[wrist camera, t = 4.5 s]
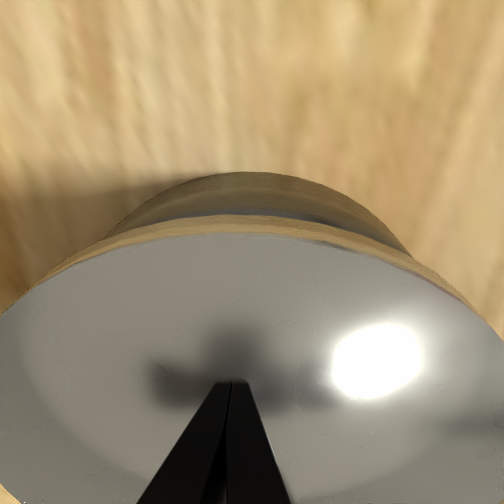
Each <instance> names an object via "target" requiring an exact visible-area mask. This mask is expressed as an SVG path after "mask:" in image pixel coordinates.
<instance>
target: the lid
mask: <svg viewBox="0 0 504 504" xmlns="http://www.w3.org/2000/svg"><path fill="white" fill-rule="evenodd" d="M218 381H230V382H232V383H233V382H234V381H247V382H248V383H249V384H250V387H251V390H252V393H253V396H254V398H255V401H256V404H257V407H258V410H259V413H260V415H261V418H262V421H263V424H264V427H265V430H266V432H267V435H268V438H269V441H270V444H271V446H272V449H273V452H274V455H275V458H276V461H277V463H278V466H279V469H280V472H281V475H282V478H283V480H284V483H285V486H286V489H287V492H288V495H289V497H290V500H291V503H292V504H499V503H500V502H501V501H502V500H503V499H504V342H503V341H502V340H501V338H500V337H499V336H498V335H497V333H496V332H495V331H494V330H493V329H492V327H491V326H490V325H489V324H488V323H487V322H486V321H485V319H484V318H483V317H482V316H481V315H480V314H479V313H478V311H477V310H476V309H475V308H474V307H473V306H472V305H471V303H470V302H469V301H468V300H467V299H466V298H465V297H464V296H463V295H462V294H461V293H460V292H459V291H457V290H456V289H455V288H454V287H453V286H452V285H450V284H449V283H448V282H447V281H446V280H445V279H443V278H442V277H441V276H440V275H439V274H438V273H436V272H434V271H433V270H431V269H429V268H428V267H426V266H424V265H423V264H421V263H420V262H418V261H416V260H415V259H413V258H411V257H410V256H408V255H407V254H405V253H403V252H401V251H398V250H396V249H394V248H391V247H389V246H387V245H385V244H382V243H380V242H378V241H375V240H373V239H371V238H368V237H366V236H364V235H360V234H356V233H353V232H349V231H346V230H342V229H339V228H335V227H332V226H328V225H325V224H321V223H316V222H309V221H303V220H296V219H289V218H283V217H276V216H260V215H213V216H203V217H192V218H182V219H175V220H170V221H166V222H161V223H157V224H152V225H148V226H144V227H139V228H135V229H132V230H129V231H126V232H124V233H121V234H118V235H116V236H113V237H110V238H108V239H105V240H102V241H100V242H97V243H95V244H93V245H91V246H89V247H87V248H86V249H84V250H82V251H80V252H78V253H77V254H75V255H73V256H71V257H69V258H68V259H66V260H64V261H62V262H61V263H60V264H59V265H57V266H56V267H55V268H54V269H52V270H51V271H50V272H49V273H47V274H46V275H45V276H44V277H42V278H41V279H40V280H39V281H37V282H36V283H35V284H34V285H33V286H32V287H31V288H30V289H29V290H27V291H26V292H25V293H24V294H23V295H22V296H21V297H20V298H19V299H18V300H17V301H16V302H15V303H13V304H12V305H11V306H10V307H9V308H8V309H7V310H6V311H5V312H4V313H3V314H2V315H1V316H0V483H1V484H2V485H3V487H4V488H5V489H6V490H7V491H8V492H9V493H10V494H11V495H13V496H14V497H15V498H16V499H17V500H18V501H19V502H20V503H21V504H136V503H137V501H138V500H139V498H140V497H141V495H142V494H143V492H144V491H145V489H146V488H147V486H148V485H149V483H150V481H151V480H152V478H153V477H154V475H155V474H156V472H157V471H158V469H159V468H160V466H161V465H162V463H163V462H164V460H165V459H166V457H167V455H168V454H169V452H170V451H171V449H172V448H173V446H174V445H175V443H176V442H177V440H178V439H179V437H180V436H181V434H182V433H183V431H184V429H185V428H186V426H187V425H188V423H189V422H190V420H191V419H192V417H193V416H194V414H195V413H196V411H197V410H198V408H199V407H200V405H201V404H202V402H203V400H204V399H205V397H206V396H207V394H208V393H209V391H210V390H211V388H212V387H213V385H214V384H215V383H216V382H218Z"/></svg>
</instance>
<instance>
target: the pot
mask: <svg viewBox="0 0 504 504" xmlns="http://www.w3.org/2000/svg"><path fill="white" fill-rule="evenodd" d="M213 215H260V216H276V217H283V218H289V219H296V220H303V221H309V222H316V223H321V224H325V225H328V226H332V227H335V228H339V229H342V230H346V231H349V232H353V233H356V234H360V235H364V236H366V237H368V238H371V239H373V240H375V241H378V242H380V243H382V244H385V245H387V246H389V247H391V248H394V249H396V250H398V251H401V252H403V253H405V254H407V255H408V256H410V257H411V258H413V257H412V256H411V255H410V253H409V252H408V251H407V250H406V249H405V248H404V246H403V245H402V244H401V243H400V242H399V240H398V239H397V238H396V237H395V236H394V235H393V233H392V232H391V231H390V230H389V229H388V228H387V226H386V225H385V224H384V223H383V222H381V221H380V220H379V219H378V218H377V217H376V216H374V215H373V214H372V213H371V212H370V211H369V210H368V209H366V208H365V207H363V206H362V205H360V204H358V203H357V202H355V201H354V200H352V199H351V198H349V197H347V196H346V195H344V194H342V193H339V192H337V191H335V190H333V189H330V188H328V187H326V186H324V185H322V184H318V183H315V182H311V181H308V180H305V179H301V178H298V177H293V176H287V175H281V174H274V173H263V172H237V173H227V174H218V175H212V176H208V177H204V178H200V179H196V180H192V181H188V182H186V183H183V184H181V185H178V186H176V187H173V188H171V189H168V190H166V191H164V192H162V193H160V194H159V195H157V196H155V197H153V198H152V199H150V200H148V201H146V202H145V203H143V204H142V205H141V206H140V207H138V208H137V209H136V210H135V211H133V212H132V213H131V214H130V215H128V216H127V217H126V218H125V219H124V220H123V221H122V222H121V223H120V224H118V225H117V226H116V227H115V228H114V229H113V230H112V231H111V232H110V233H109V234H108V235H107V236H106V237H105V238H104V239H103V240H105V239H108V238H110V237H113V236H116V235H118V234H121V233H124V232H126V231H129V230H132V229H135V228H139V227H144V226H148V225H152V224H157V223H161V222H166V221H170V220H175V219H182V218H192V217H203V216H213ZM101 241H102V240H101ZM413 259H414V258H413Z"/></svg>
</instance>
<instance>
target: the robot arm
mask: <svg viewBox="0 0 504 504" xmlns="http://www.w3.org/2000/svg"><path fill="white" fill-rule="evenodd" d="M136 504H292V503H291V500H290V497H289V495H288V492H287V489H286V486H285V483H284V480H283V478H282V475H281V472H280V469H279V466H278V463H277V461H276V458H275V455H274V452H273V449H272V446H271V444H270V441H269V438H268V435H267V432H266V430H265V427H264V424H263V421H262V418H261V415H260V413H259V410H258V407H257V404H256V401H255V398H254V396H253V393H252V390H251V387H250V384H249V383H248V382H247V381H234V382H233V383H232V382H230V381H218V382H216V383H215V384H214V385H213V387H212V388H211V390H210V391H209V393H208V394H207V396H206V397H205V399H204V400H203V402H202V404H201V405H200V407H199V408H198V410H197V411H196V413H195V414H194V416H193V417H192V419H191V420H190V422H189V423H188V425H187V426H186V428H185V429H184V431H183V433H182V434H181V436H180V437H179V439H178V440H177V442H176V443H175V445H174V446H173V448H172V449H171V451H170V452H169V454H168V455H167V457H166V459H165V460H164V462H163V463H162V465H161V466H160V468H159V469H158V471H157V472H156V474H155V475H154V477H153V478H152V480H151V481H150V483H149V485H148V486H147V488H146V489H145V491H144V492H143V494H142V495H141V497H140V498H139V500H138V501H137V503H136Z"/></svg>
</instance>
